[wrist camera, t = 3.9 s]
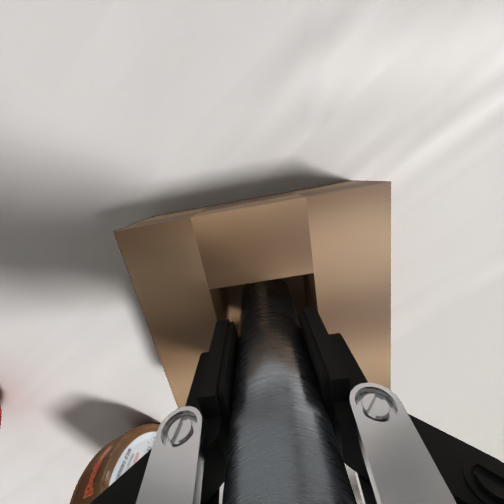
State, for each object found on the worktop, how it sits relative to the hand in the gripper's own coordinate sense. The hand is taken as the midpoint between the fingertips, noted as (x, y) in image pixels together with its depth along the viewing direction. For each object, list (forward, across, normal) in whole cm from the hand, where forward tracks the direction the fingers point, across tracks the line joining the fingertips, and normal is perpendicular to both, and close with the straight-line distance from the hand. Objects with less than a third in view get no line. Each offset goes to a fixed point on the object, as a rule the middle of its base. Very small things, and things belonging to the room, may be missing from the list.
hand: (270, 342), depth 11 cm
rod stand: (+5, 0, 0) cm, 5 cm away
